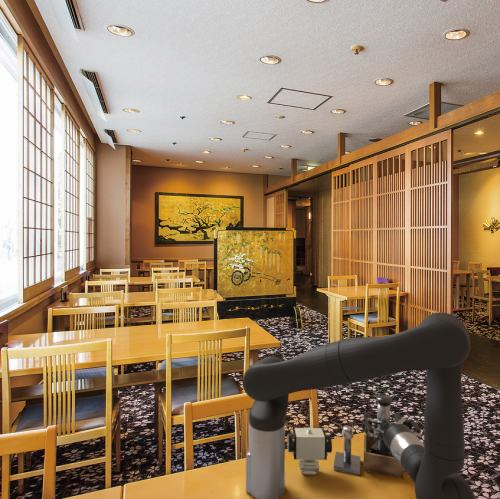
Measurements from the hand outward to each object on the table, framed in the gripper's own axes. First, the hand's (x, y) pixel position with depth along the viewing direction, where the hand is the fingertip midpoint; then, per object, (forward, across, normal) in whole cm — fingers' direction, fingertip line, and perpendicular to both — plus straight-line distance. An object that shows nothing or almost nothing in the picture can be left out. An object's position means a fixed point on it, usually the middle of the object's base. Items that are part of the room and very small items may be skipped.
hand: (380, 415), depth 102 cm
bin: (-2, 0, +13) cm, 13 cm away
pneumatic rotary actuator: (-5, +22, +13) cm, 26 cm away
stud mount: (-2, +10, +13) cm, 17 cm away
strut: (-2, 0, +12) cm, 12 cm away
